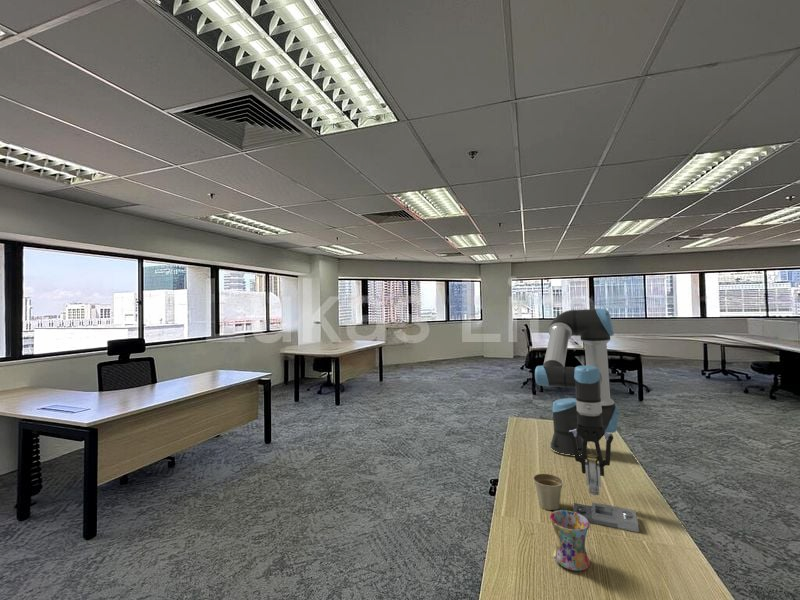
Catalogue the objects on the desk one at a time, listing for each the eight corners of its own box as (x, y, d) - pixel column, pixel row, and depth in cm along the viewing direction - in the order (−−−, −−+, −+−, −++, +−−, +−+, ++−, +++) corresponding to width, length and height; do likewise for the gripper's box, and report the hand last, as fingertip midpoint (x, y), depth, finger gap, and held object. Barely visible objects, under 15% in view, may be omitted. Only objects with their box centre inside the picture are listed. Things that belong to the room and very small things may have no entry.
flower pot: (563, 500, 123) (562, 474, 123) (566, 515, 114) (564, 487, 114) (533, 497, 126) (532, 472, 126) (534, 511, 117) (533, 484, 117)
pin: (587, 489, 123) (585, 453, 123) (600, 491, 121) (598, 455, 121) (587, 494, 119) (585, 457, 120) (600, 496, 118) (598, 459, 118)
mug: (596, 577, 87) (593, 532, 88) (555, 572, 89) (552, 528, 90) (584, 546, 99) (581, 506, 99) (547, 542, 101) (545, 503, 101)
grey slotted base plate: (574, 506, 119) (573, 497, 119) (635, 518, 111) (634, 508, 111) (573, 519, 112) (572, 509, 112) (638, 532, 104) (638, 521, 104)
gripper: (562, 414, 121) (566, 484, 121) (617, 418, 114) (622, 493, 113) (563, 408, 128) (568, 475, 127) (615, 411, 121) (620, 483, 120)
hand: (593, 483), depth 120 cm, fingers closed on pin, 3 cm apart
